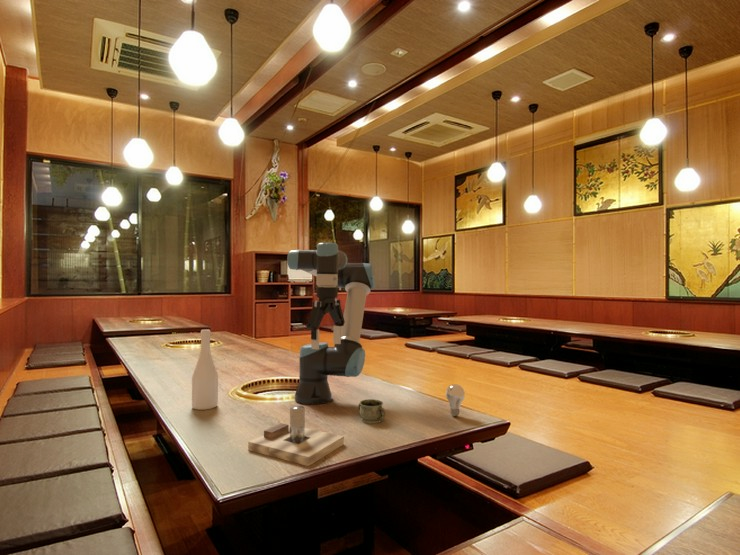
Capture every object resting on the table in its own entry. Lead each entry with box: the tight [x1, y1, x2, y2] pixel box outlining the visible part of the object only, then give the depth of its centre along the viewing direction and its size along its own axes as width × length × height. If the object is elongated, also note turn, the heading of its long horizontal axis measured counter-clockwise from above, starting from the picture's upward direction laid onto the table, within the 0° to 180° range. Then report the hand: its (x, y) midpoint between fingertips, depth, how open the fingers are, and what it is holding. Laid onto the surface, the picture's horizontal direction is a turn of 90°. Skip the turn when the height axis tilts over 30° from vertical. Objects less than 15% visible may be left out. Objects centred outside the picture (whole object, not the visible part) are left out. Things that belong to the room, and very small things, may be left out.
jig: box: [247, 422, 345, 467], centre depth 134 cm, size 22×18×4 cm
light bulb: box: [445, 383, 465, 418], centre depth 165 cm, size 7×7×12 cm
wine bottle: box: [191, 329, 219, 411], centre depth 173 cm, size 10×10×30 cm
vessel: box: [357, 398, 386, 424], centre depth 161 cm, size 12×9×6 cm
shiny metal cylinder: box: [289, 405, 306, 444], centre depth 134 cm, size 4×4×12 cm
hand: (326, 346), depth 158 cm, fingers open, 13 cm apart
